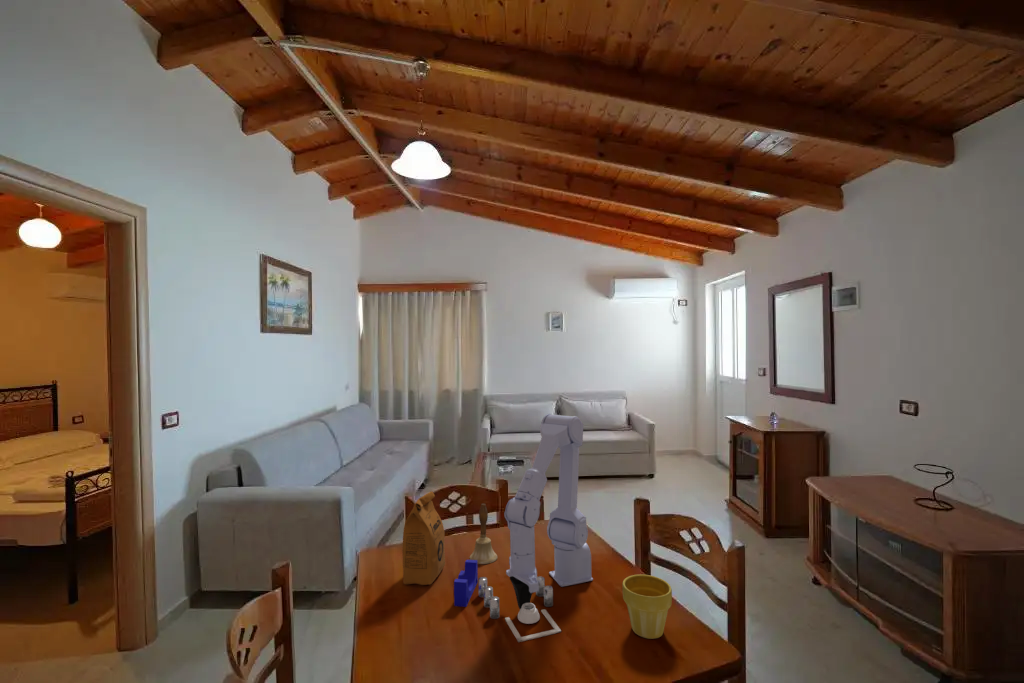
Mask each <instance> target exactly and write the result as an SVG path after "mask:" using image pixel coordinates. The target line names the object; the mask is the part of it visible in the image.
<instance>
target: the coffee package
mask: <svg viewBox="0 0 1024 683" xmlns="http://www.w3.org/2000/svg"><path fill="white" fill-rule="evenodd" d="M435 497H436V496H435V493H434V492H433V491H432V490H431V491H430V492H427V493H426V494H423V495H422V496H421V497H419V498H418V499H417V500H416V502H415V503H414V505H413V507H412V509H411V510H410V512H409V515H408V516H407V517H406V520H405V522H404V525H403V532H402V534H403V535H402V547H401V548H402V550H401V552H402V570H403V571H402V574H403V576H402V577H403V581H402V582H403V583H402V584H403V585H413V584H417V585H419V586H420V585H421V586H427V585H432V584H433V582H434V581H435V580H436V579H437V577H438V576H439V575H440V574H441V572H442V570H443V569H444V567H445V566H446V555H445V554H446V552H445V551H446V550H445V528H444V523H443V521H442V519H441V516H440V515H439V513H438V512H437V510H436V509H435V506H434V503H433V499H435Z"/></svg>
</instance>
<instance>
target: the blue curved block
mask: <svg viewBox="0 0 1024 683" xmlns="http://www.w3.org/2000/svg"><path fill="white" fill-rule="evenodd" d="M478 565H479V564H477V560H470V559H466V560H465V561H464V570H460V572H459V574H458V575H457V576H458V577H457V578H455V579H454V582H453V601H454V602H453V603H454V604H453V605H454V607H463V608H464V607H465V608H466V607H467V606H468V604H469V602H470V599H471V597H472V595H473V593H474V591H475V589H476V587H477V584H478V579H479V576H478V572H479V571H478V569H479V566H478Z"/></svg>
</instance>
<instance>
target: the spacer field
mask: <svg viewBox="0 0 1024 683" xmlns="http://www.w3.org/2000/svg"><path fill="white" fill-rule="evenodd" d="M536 576H537V581H538V583H539V591H538V592H535V595H536V596H537V597H539V598H540V597H543V606H544V607H546V608H552V607H553V606H554V589H553V586H552V585H545V582H546V581H545V577H544V576H542V575H541V576H540V575H539V576H538V569H537V568H536ZM477 584H478V597H480V598H483V606H484V608H489V617H490V619H492V620H497V619H499V618H500V597H498V596H494V588H493V587H492V586H490V585H488V577H486V576H480V577H478V583H477Z"/></svg>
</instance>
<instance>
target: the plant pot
mask: <svg viewBox="0 0 1024 683" xmlns="http://www.w3.org/2000/svg"><path fill="white" fill-rule="evenodd" d="M622 599H623V601H624V603H625V604H626V607H627V612H628V617H629V622H630V625H631V630H632V631H633V632H634V633H635V634H636V635H638V636H639V637H641V638H644V639H648V640H649V639H650V640H651V639H653V640H654V639H659V638H660V637H662V636H663V634H664V631H665V625H666V621H667V616H668V612H669V611H668V610H669V609H670V608H671V607H672V603H673V602H672V601H673V592H672V586H671V584H669V583H668V581H666V580H664V579H663V578H661V577H658V576H655V575H649V574H634V575H633V574H632V575H629V576H627V577H626V578H624V579H623V581H622Z"/></svg>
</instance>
